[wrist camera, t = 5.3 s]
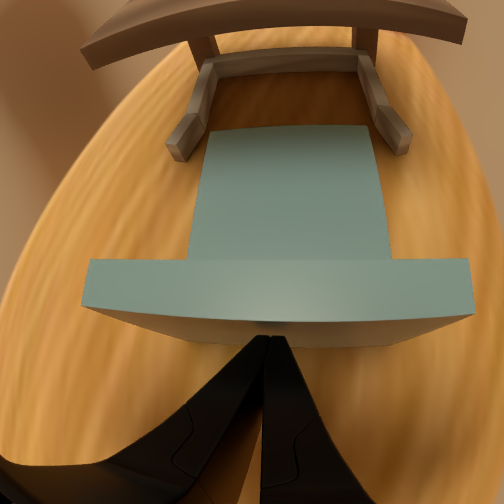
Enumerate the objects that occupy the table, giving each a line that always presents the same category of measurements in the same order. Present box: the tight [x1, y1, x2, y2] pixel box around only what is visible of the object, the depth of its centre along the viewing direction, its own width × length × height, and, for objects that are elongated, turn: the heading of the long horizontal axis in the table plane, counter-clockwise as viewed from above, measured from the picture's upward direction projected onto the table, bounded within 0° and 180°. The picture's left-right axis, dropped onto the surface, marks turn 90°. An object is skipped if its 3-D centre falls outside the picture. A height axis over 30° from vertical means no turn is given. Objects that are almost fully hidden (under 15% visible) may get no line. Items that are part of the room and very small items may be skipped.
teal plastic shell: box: [81, 125, 476, 348], centre depth 13 cm, size 14×11×9 cm
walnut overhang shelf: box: [80, 0, 468, 162], centre depth 16 cm, size 16×17×12 cm
